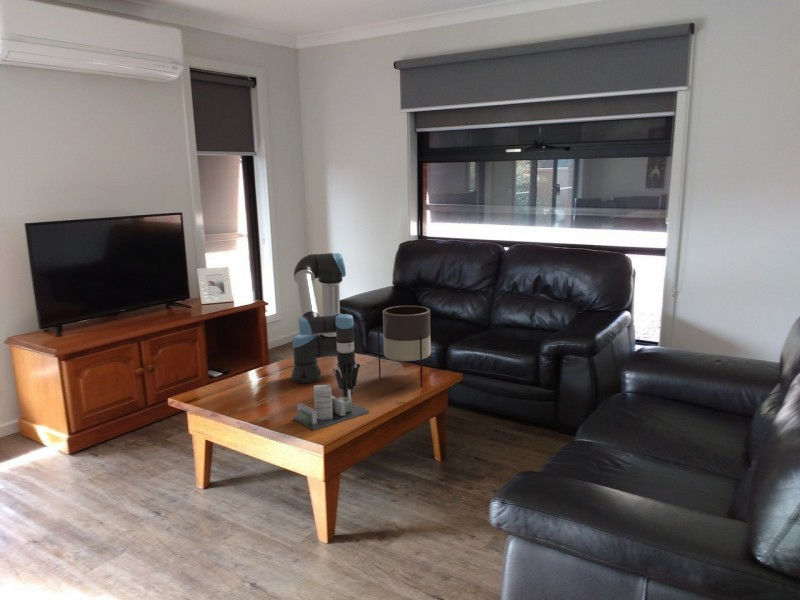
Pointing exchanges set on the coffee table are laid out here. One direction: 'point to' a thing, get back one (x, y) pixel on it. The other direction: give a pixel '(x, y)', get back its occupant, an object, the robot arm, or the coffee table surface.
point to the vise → (309, 419)
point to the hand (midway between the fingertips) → (348, 403)
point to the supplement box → (323, 401)
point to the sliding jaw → (341, 405)
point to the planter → (406, 334)
